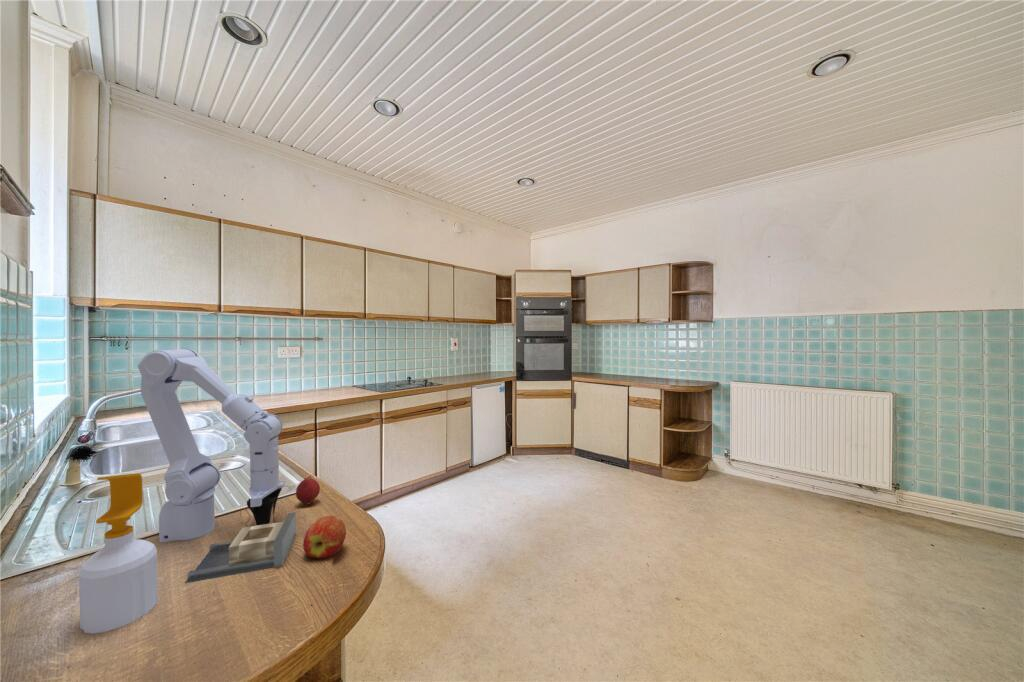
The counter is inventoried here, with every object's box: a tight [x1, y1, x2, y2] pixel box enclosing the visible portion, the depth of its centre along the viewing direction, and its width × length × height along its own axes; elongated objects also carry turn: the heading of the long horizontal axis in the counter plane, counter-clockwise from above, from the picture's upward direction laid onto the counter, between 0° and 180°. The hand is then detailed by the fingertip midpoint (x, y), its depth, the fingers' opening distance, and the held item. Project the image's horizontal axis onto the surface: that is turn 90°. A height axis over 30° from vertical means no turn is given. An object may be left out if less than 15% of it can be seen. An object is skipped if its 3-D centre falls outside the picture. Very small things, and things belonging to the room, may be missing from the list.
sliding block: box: [229, 521, 284, 565], centre depth 81 cm, size 8×8×4 cm
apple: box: [302, 515, 347, 560], centre depth 82 cm, size 8×8×8 cm
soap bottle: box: [78, 472, 159, 635], centre depth 64 cm, size 9×9×25 cm
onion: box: [295, 474, 321, 505], centre depth 106 cm, size 6×6×8 cm
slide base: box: [184, 512, 297, 584], centre depth 80 cm, size 16×13×6 cm
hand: (265, 523), depth 91 cm, fingers closed on dowel, 3 cm apart
